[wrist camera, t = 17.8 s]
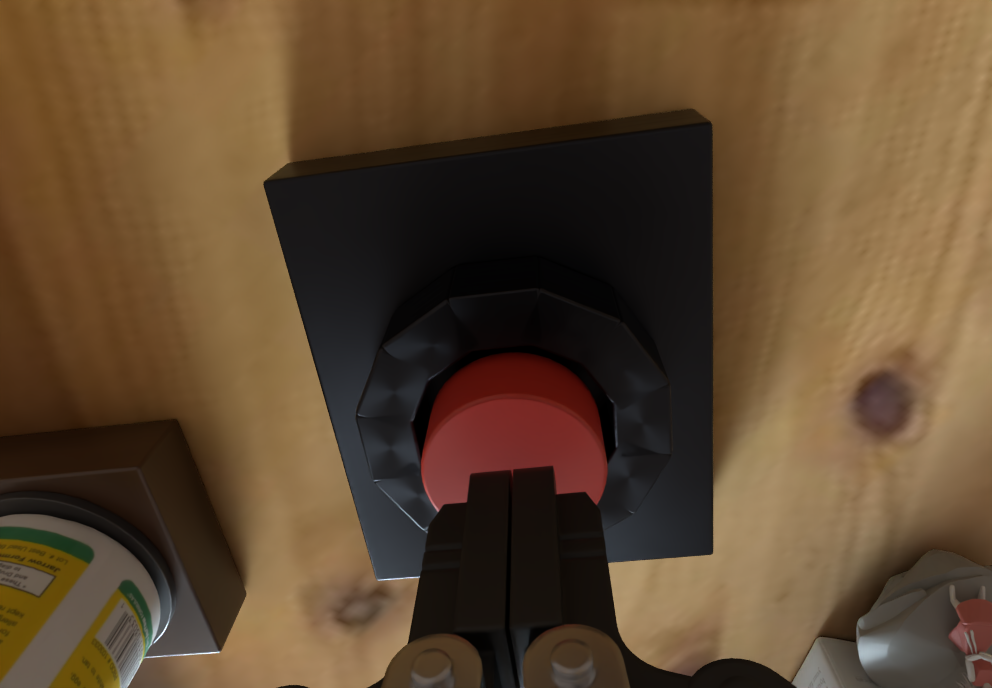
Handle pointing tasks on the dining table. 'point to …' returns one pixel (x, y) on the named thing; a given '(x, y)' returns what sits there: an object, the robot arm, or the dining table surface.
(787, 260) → the dining table surface
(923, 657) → the figurine
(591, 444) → the button
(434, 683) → the robot arm
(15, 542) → the supplement bottle
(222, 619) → the stand
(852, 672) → the cosmetic box
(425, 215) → the button housing
